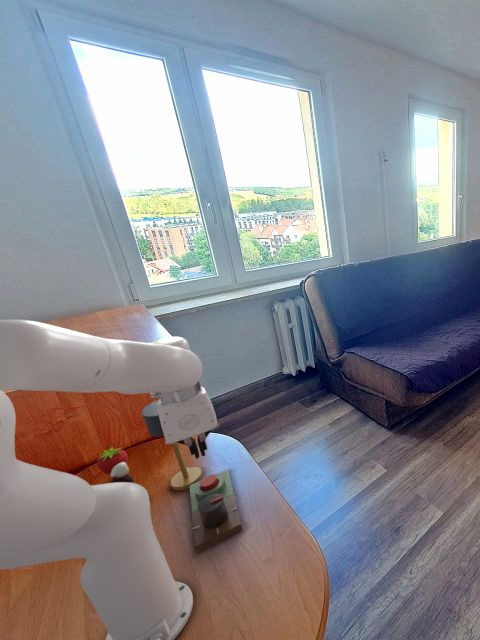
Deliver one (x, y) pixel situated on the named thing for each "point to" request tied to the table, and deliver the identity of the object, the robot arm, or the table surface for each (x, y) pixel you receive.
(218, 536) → the dimmer panel
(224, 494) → the switch base
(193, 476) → the desk lamp
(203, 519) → the dimmer knob
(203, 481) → the lamp switch
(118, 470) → the grandmother figurine
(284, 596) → the table surface
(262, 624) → the table surface
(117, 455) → the strawberry
